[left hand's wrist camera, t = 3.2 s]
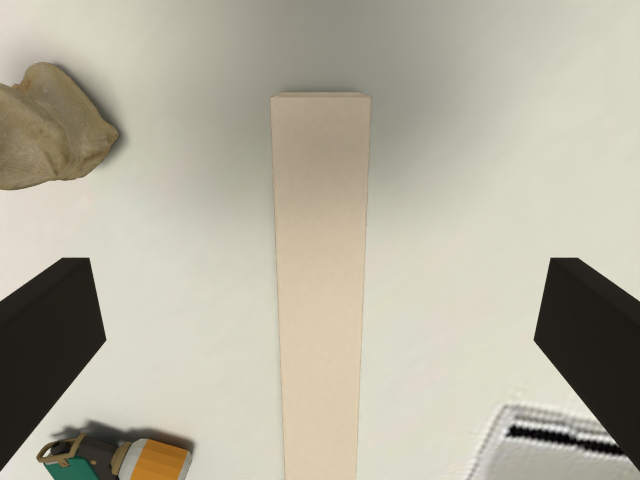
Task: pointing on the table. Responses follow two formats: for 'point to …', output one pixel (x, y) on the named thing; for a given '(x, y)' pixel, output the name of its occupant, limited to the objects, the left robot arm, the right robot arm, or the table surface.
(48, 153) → the sculpture
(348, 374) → the beam
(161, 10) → the table surface
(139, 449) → the spray gun
